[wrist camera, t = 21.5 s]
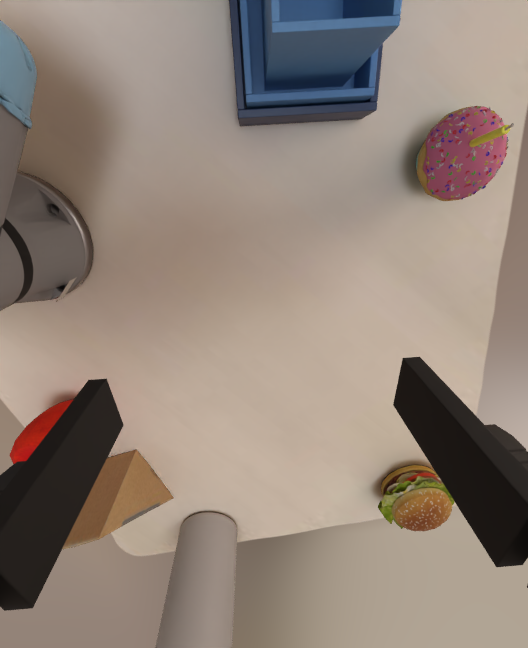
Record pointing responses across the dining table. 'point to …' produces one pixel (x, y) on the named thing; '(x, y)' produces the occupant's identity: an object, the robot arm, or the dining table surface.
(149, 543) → the dining table surface
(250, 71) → the bin stack
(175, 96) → the dining table surface
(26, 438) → the apple
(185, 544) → the cylinder vase
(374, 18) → the lone bin
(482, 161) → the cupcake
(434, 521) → the food
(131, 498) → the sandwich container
